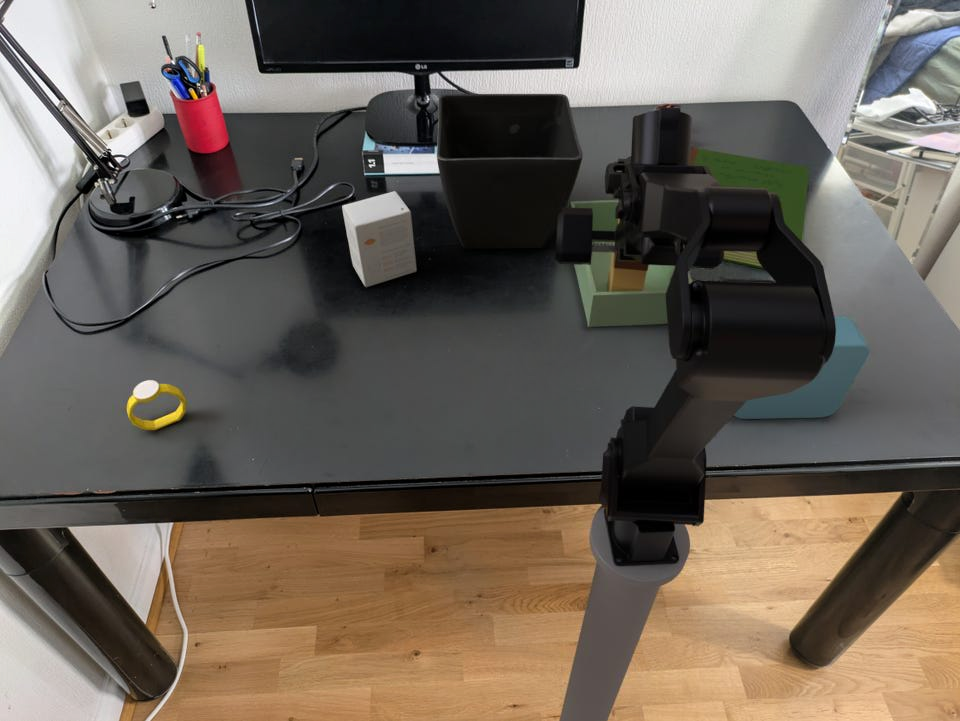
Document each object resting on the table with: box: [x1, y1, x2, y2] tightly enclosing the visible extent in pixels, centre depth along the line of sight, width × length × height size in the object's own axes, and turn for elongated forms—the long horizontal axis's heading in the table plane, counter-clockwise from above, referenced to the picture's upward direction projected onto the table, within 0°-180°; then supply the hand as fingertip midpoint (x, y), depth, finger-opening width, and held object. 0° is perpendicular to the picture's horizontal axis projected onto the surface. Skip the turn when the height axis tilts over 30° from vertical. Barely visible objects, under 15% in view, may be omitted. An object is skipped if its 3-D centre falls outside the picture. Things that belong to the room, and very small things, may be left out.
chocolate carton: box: [607, 219, 649, 292], centre depth 89 cm, size 7×4×13 cm, turn 172°
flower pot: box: [436, 93, 583, 250], centre depth 101 cm, size 19×19×17 cm
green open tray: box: [568, 199, 693, 328], centre depth 96 cm, size 21×13×6 cm, turn 3°
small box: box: [341, 190, 418, 288], centre depth 96 cm, size 8×6×10 cm
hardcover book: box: [690, 146, 810, 270], centre depth 106 cm, size 25×19×4 cm
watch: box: [126, 379, 187, 431], centre depth 78 cm, size 6×3×6 cm, turn 118°
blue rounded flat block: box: [734, 316, 871, 420], centre depth 77 cm, size 12×4×12 cm, turn 91°
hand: (626, 249), depth 87 cm, fingers open, 9 cm apart
